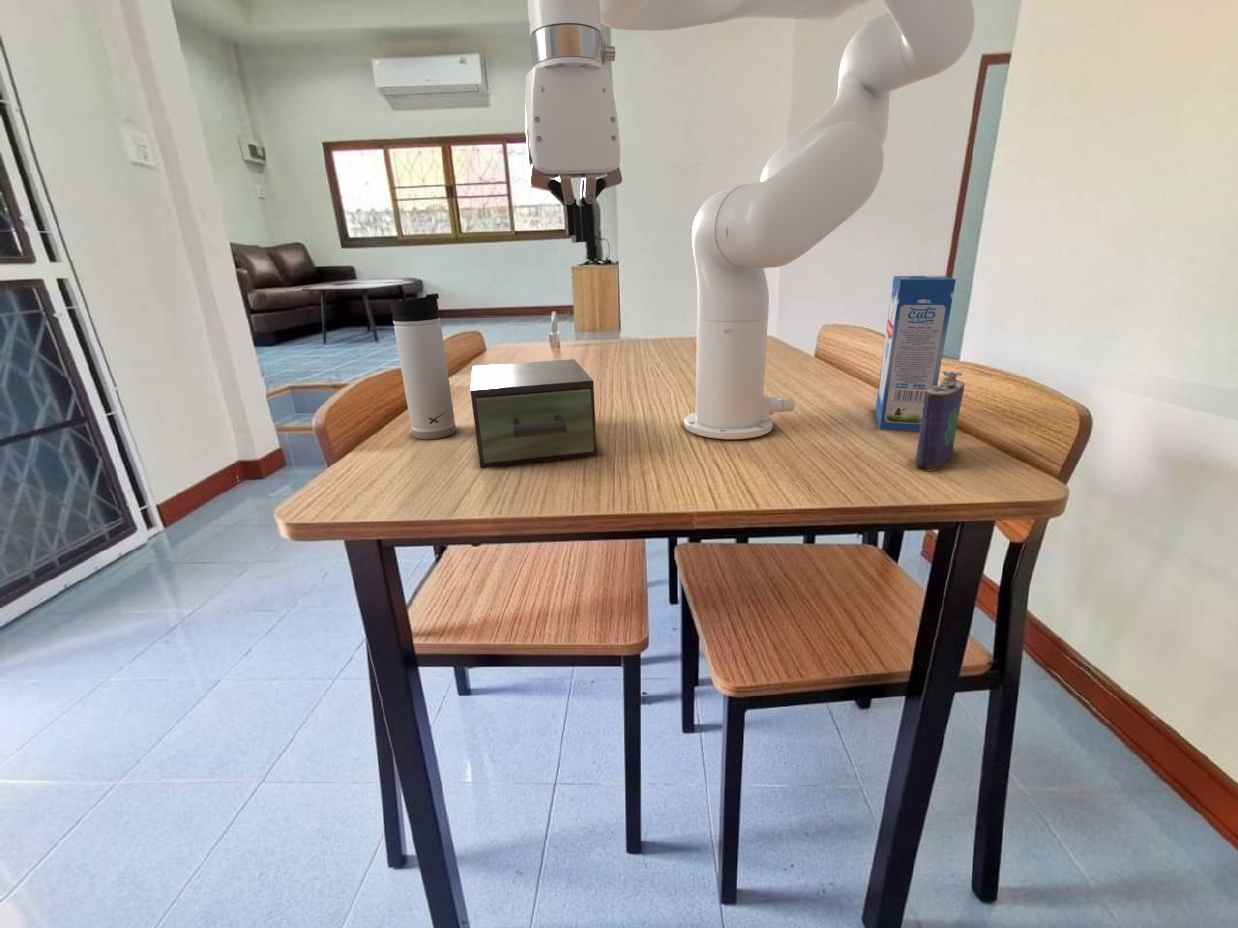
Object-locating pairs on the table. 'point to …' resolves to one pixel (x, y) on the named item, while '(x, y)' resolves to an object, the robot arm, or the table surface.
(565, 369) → the cabinet
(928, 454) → the flask
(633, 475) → the table surface
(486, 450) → the drawer
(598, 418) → the table surface
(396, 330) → the travel mug
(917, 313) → the milk carton
